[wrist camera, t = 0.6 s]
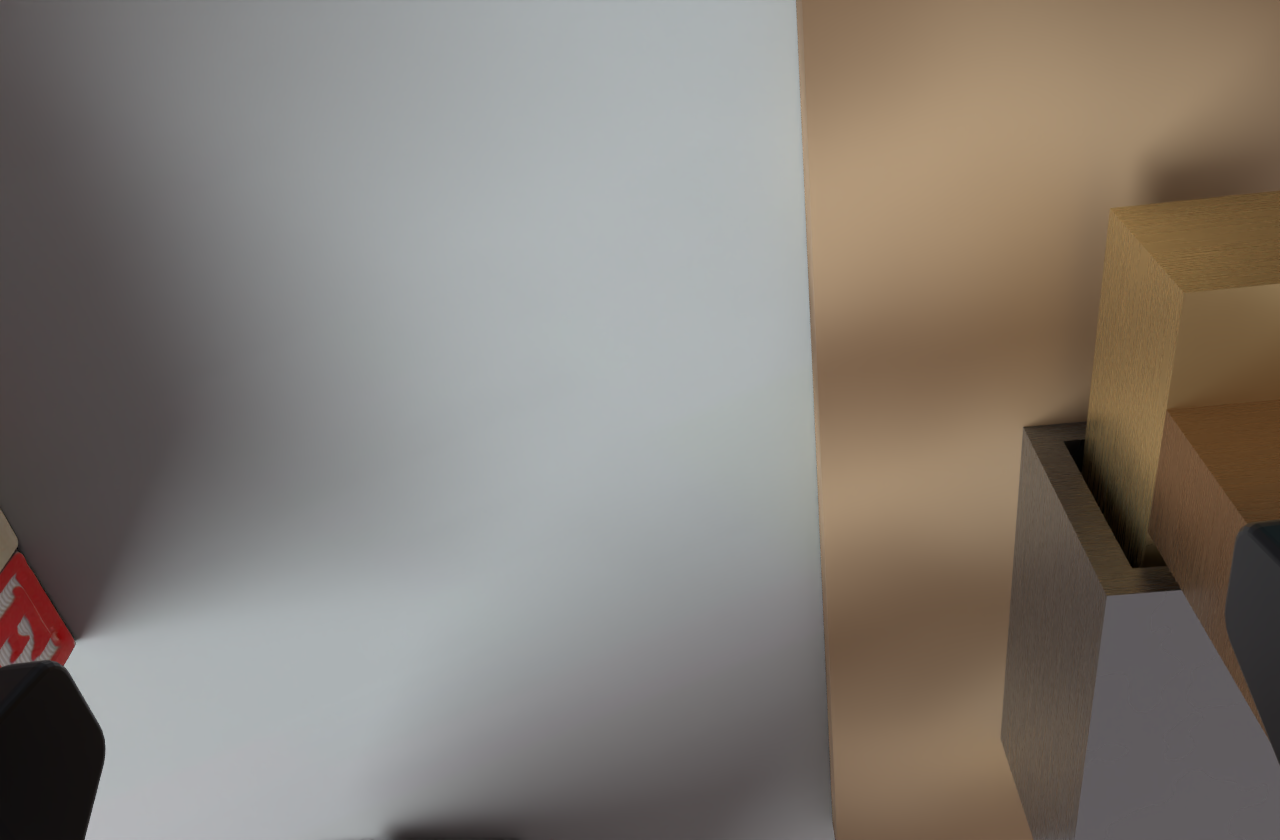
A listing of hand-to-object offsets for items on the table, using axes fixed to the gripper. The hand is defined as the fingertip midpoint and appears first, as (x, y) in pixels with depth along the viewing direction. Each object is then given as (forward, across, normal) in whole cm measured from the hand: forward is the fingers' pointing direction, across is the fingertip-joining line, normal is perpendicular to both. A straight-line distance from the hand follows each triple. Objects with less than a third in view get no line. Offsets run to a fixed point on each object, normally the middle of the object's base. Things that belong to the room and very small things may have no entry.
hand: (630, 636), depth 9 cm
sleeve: (+13, -9, +12) cm, 19 cm away
